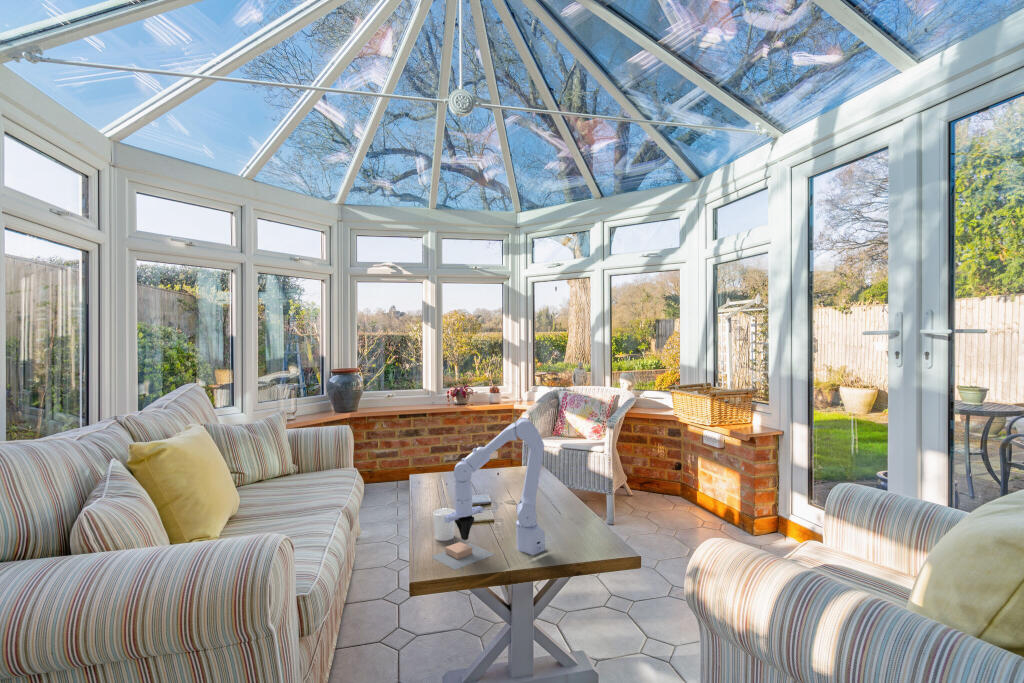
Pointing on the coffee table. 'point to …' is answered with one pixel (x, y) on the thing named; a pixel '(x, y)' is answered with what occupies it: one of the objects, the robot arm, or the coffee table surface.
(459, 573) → the coffee table surface
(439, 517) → the white cup
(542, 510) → the coffee table surface
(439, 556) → the felt mat
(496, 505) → the coffee table surface
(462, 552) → the block
